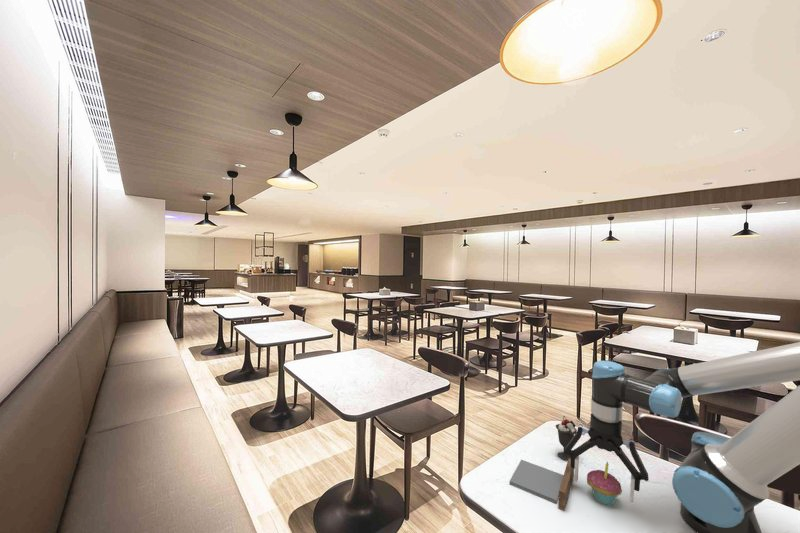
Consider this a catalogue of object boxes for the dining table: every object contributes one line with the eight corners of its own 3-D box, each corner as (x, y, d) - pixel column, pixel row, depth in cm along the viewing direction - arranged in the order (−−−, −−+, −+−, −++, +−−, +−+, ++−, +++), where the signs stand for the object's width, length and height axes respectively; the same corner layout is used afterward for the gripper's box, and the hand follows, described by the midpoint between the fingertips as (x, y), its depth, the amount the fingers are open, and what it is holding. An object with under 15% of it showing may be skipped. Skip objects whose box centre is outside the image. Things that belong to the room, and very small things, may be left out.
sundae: (556, 460, 109) (557, 417, 109) (553, 449, 116) (554, 408, 115) (578, 464, 107) (579, 420, 107) (573, 453, 114) (574, 411, 113)
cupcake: (626, 512, 87) (628, 469, 87) (592, 507, 89) (594, 464, 89) (612, 490, 96) (614, 450, 95) (581, 485, 98) (583, 446, 97)
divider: (573, 475, 102) (574, 459, 102) (564, 511, 87) (565, 493, 87) (568, 473, 103) (568, 457, 103) (558, 508, 88) (558, 490, 88)
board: (564, 478, 101) (564, 475, 101) (556, 503, 90) (556, 500, 90) (521, 462, 108) (521, 459, 108) (509, 484, 98) (509, 480, 98)
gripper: (661, 425, 88) (657, 501, 88) (560, 399, 102) (557, 465, 103) (663, 437, 82) (659, 518, 82) (555, 408, 96) (553, 478, 97)
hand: (602, 489), depth 93 cm, fingers open, 13 cm apart
